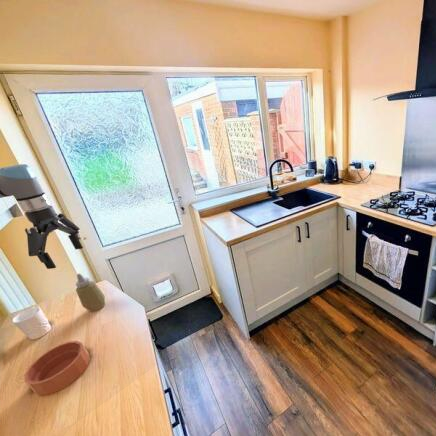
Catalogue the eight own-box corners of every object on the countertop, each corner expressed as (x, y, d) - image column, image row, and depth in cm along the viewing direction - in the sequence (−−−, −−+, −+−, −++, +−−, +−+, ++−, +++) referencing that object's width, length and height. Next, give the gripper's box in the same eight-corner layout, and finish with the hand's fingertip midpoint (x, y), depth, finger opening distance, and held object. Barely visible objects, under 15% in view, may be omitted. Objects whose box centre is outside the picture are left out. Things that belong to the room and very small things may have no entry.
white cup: (34, 343, 94) (19, 324, 90) (22, 338, 96) (7, 320, 92) (57, 326, 100) (44, 308, 96) (45, 322, 103) (33, 305, 99)
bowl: (34, 375, 81) (24, 363, 79) (86, 345, 90) (79, 333, 88) (35, 407, 72) (24, 394, 69) (94, 370, 81) (86, 358, 78)
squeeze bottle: (81, 312, 106) (61, 279, 99) (98, 299, 113) (80, 267, 106) (95, 314, 104) (76, 281, 97) (112, 301, 111) (95, 268, 104)
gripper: (13, 222, 77) (48, 276, 86) (74, 195, 99) (97, 240, 108) (-10, 224, 77) (27, 278, 86) (56, 197, 99) (80, 242, 108)
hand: (66, 257), depth 97 cm, fingers open, 13 cm apart
